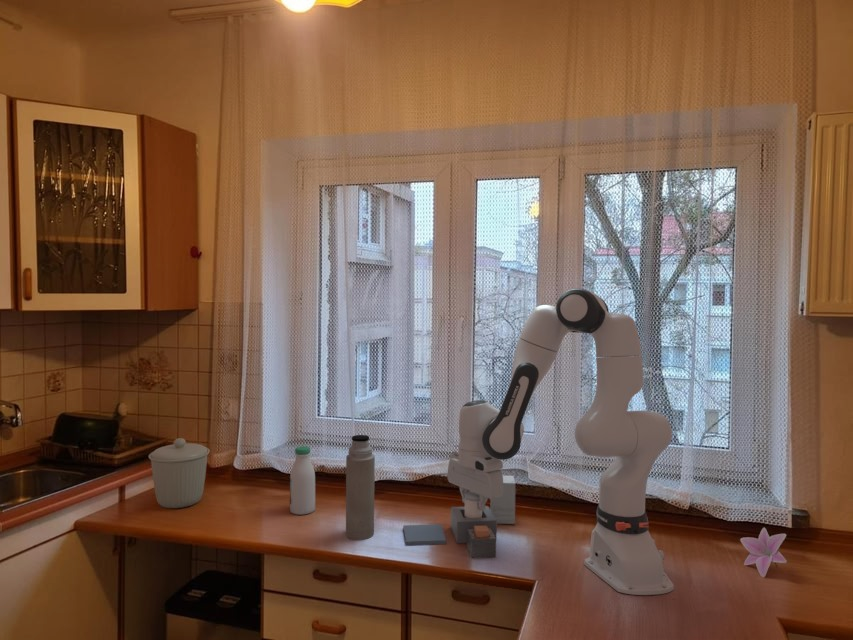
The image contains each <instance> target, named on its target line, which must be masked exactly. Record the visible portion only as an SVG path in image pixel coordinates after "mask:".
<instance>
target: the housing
mask: <svg viewBox="0 0 853 640" xmlns="http://www.w3.org/2000/svg"><path fill="white" fill-rule="evenodd" d="M464 513H465V506H451V507H450V529H451V531H452V534H453V536H454V538H455V542H456V544H467V529H474V526H487V527H488V529H491V530H492V532H493V533H494V535H495V537H496V538H497V535H498V534H497V526H498V525H497V520H496V518H495V517H494V515H493V513H492V512H491V510H490V506H488V505H485V510H482V518H464Z"/></svg>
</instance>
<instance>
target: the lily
mask: <svg viewBox="0 0 853 640" xmlns="http://www.w3.org/2000/svg"><path fill="white" fill-rule="evenodd" d="M786 538H787V534H786V533H779V534H778V533H777V534H774V535H773V534H772V535H771V536H770V535H769V533H768V531H767V528H766V527H762V529H761V531H760V533H759V535H758V538H756V537H749V536H747V537H742V538H740V539H739V541H740V543H741V544H742V545H743V547H744V548H745V549H746V551H748V552H749V554H748V556H747V557H746V559H745V560H744V562H743V565H744V566H749V565H753V564H755V565H756V569H757V571H758V573H759V575H760V577H762V578H765V577H766V575H767V572H768V570H769V567H770V565H771V562H773V563H774V565H775V567H777V568H778V565H777V563H778V564H779V563H780V564H786V563H788V562H787V560H786V558H785V557H784V556H783V555H782V553H781V552H780V551H779V548H780V546H781V545H782V544H783V542H784V541H785V539H786Z"/></svg>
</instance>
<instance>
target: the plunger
mask: <svg viewBox="0 0 853 640" xmlns="http://www.w3.org/2000/svg"><path fill="white" fill-rule="evenodd" d="M474 535H475V537H489V529H488V527H487V526H474Z"/></svg>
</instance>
